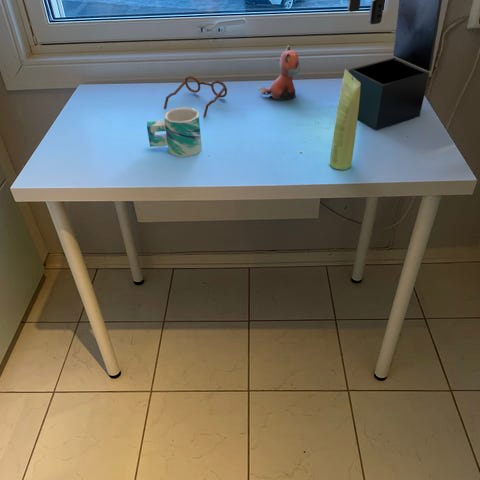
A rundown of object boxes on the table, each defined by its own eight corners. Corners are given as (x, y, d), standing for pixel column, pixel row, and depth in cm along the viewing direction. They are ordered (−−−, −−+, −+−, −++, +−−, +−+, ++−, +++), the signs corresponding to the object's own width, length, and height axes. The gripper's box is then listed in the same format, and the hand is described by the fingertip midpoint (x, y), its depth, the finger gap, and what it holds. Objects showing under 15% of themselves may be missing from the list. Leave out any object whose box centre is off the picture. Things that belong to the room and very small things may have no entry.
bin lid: (439, 0, 114) (456, -7, 116) (400, -13, 122) (416, -18, 123) (428, 71, 126) (444, 64, 127) (393, 56, 133) (408, 50, 135)
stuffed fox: (257, 91, 148) (256, 45, 139) (296, 89, 148) (298, 43, 139) (259, 102, 142) (259, 55, 134) (300, 100, 143) (302, 53, 134)
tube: (357, 163, 118) (371, 74, 104) (348, 173, 115) (360, 82, 101) (334, 157, 120) (345, 68, 106) (324, 166, 117) (334, 77, 103)
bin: (375, 130, 129) (382, 86, 121) (343, 112, 137) (348, 69, 129) (419, 116, 134) (429, 72, 126) (386, 99, 142) (394, 57, 134)
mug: (201, 156, 122) (198, 121, 116) (150, 159, 122) (144, 124, 116) (201, 139, 128) (198, 105, 122) (152, 142, 127) (146, 108, 121)
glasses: (228, 99, 144) (227, 80, 141) (204, 118, 136) (203, 99, 133) (187, 91, 149) (185, 73, 145) (162, 109, 141) (160, 90, 137)
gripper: (420, -88, 82) (400, 25, 94) (377, -100, 92) (363, 4, 103) (378, -84, 81) (363, 30, 92) (338, -97, 90) (329, 9, 102)
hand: (363, 16), depth 98 cm, fingers open, 8 cm apart
